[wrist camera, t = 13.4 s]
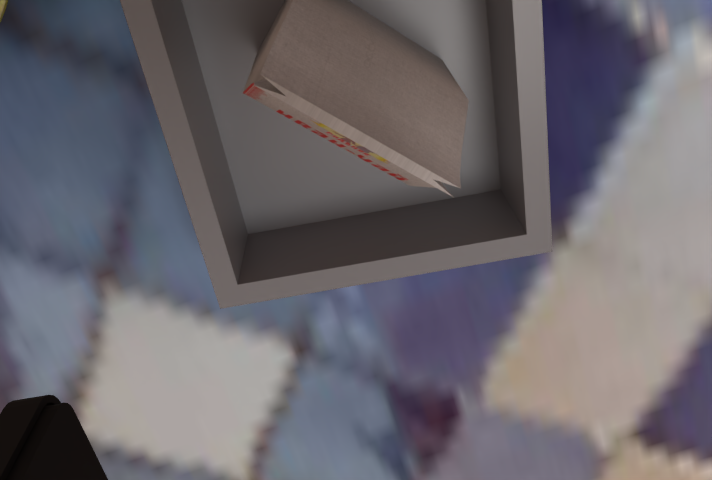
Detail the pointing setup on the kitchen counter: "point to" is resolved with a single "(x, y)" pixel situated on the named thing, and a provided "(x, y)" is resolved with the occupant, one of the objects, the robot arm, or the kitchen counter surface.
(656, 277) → the kitchen counter surface
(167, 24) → the walled box
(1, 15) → the plant pot
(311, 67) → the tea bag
